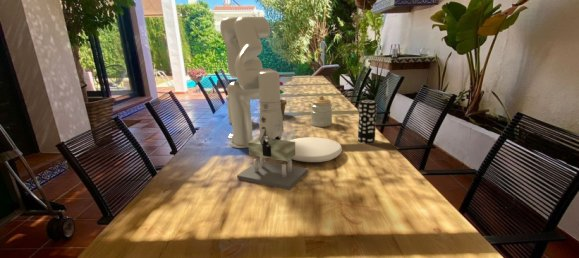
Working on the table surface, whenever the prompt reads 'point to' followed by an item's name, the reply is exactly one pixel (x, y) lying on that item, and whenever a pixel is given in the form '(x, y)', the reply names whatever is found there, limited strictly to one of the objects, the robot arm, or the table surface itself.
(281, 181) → the peg stand
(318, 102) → the jar
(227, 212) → the table surface
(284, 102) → the flowerpot
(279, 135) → the robot arm
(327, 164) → the table surface
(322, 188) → the table surface
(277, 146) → the pale green rectangular block
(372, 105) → the spotted tube
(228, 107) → the utensil holder
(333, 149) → the plate
